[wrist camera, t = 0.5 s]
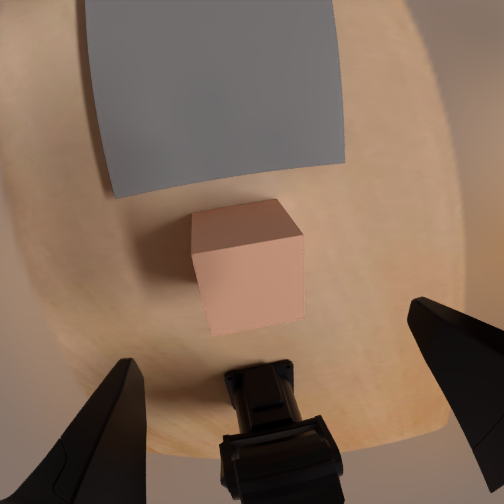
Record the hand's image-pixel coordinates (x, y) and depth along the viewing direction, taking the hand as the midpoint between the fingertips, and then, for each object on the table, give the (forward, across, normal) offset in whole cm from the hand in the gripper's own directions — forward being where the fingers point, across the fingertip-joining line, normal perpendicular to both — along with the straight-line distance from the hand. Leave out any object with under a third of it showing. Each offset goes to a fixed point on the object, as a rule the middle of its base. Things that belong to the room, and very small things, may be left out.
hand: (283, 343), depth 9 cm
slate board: (+12, 0, -10) cm, 15 cm away
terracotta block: (+12, 0, +2) cm, 13 cm away
